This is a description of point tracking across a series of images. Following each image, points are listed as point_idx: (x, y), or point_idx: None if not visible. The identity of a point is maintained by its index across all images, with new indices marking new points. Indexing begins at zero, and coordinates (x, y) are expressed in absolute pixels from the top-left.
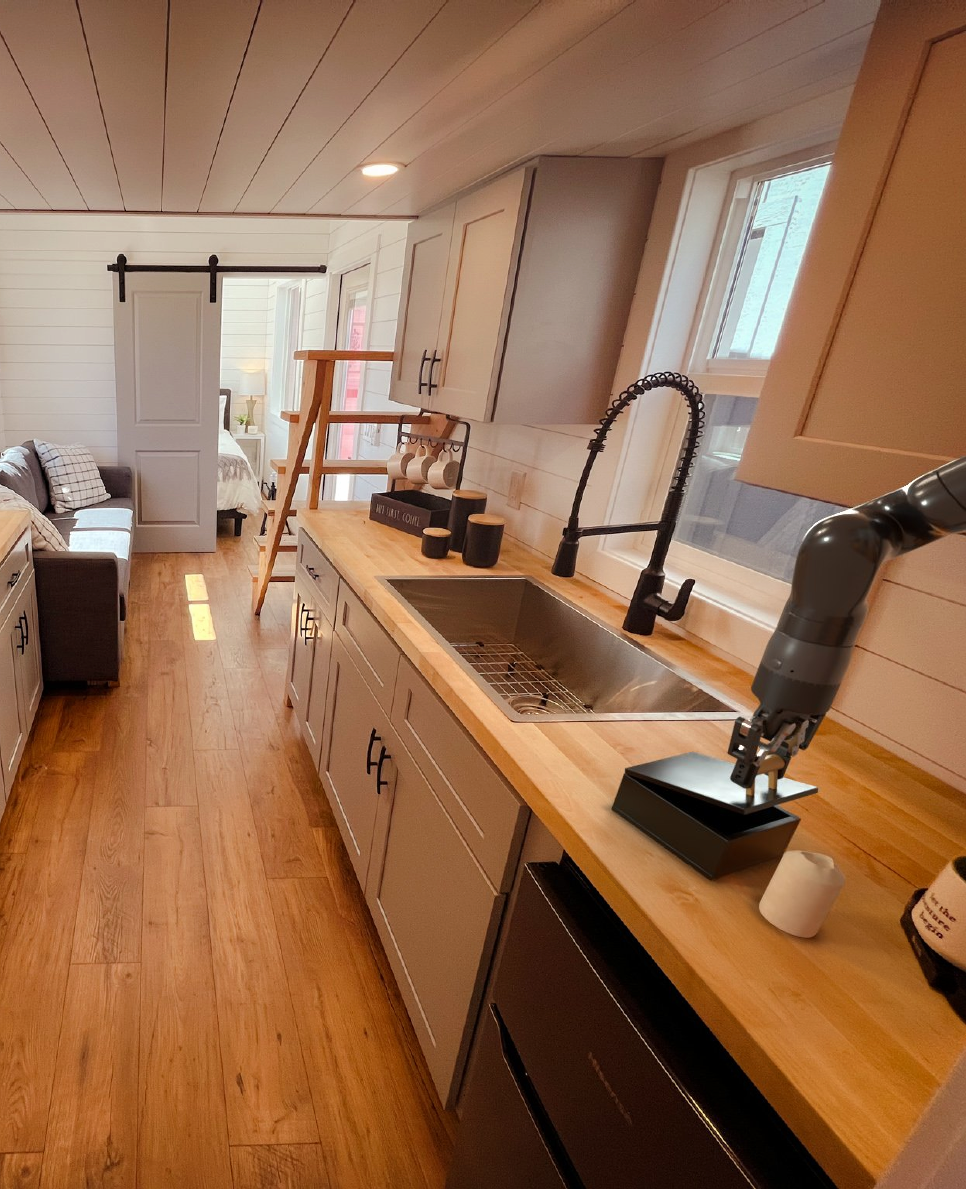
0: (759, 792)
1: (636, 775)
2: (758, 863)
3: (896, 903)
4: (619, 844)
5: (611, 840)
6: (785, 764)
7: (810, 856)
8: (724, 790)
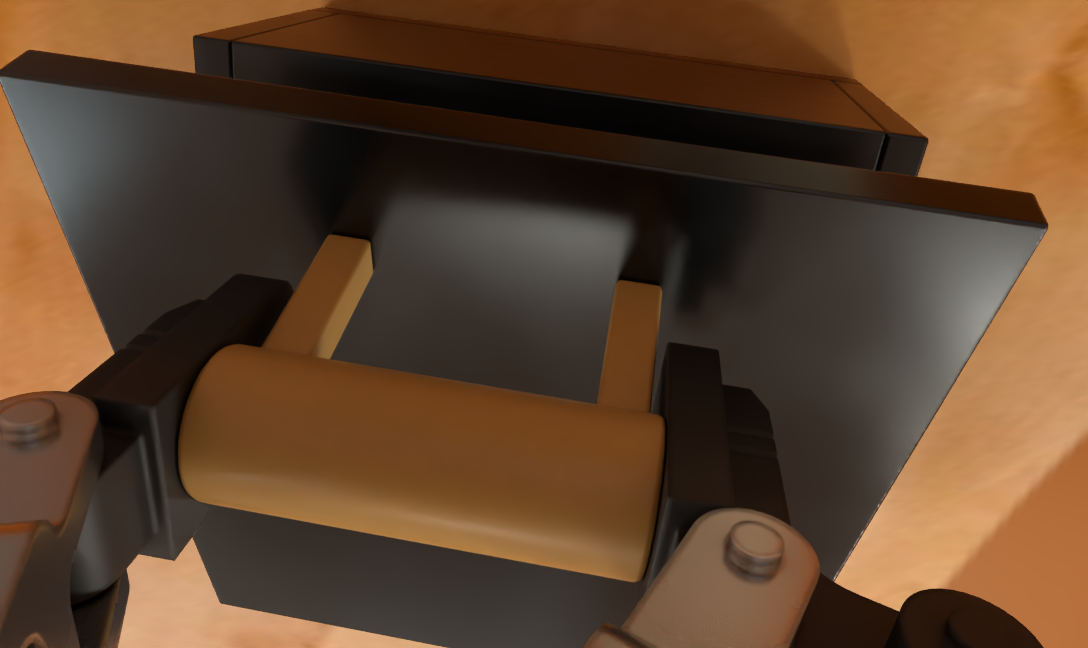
0: (532, 275)
1: None
2: (504, 33)
3: None
4: (963, 396)
5: (966, 424)
6: (198, 361)
7: None
8: None
